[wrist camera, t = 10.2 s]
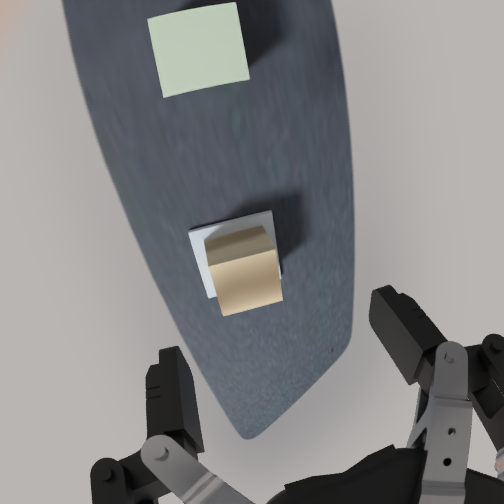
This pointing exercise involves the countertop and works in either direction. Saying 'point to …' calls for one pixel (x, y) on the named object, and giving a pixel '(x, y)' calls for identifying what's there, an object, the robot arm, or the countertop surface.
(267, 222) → the white tile
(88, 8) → the countertop surface
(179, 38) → the sage block
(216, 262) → the maple block
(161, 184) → the countertop surface
